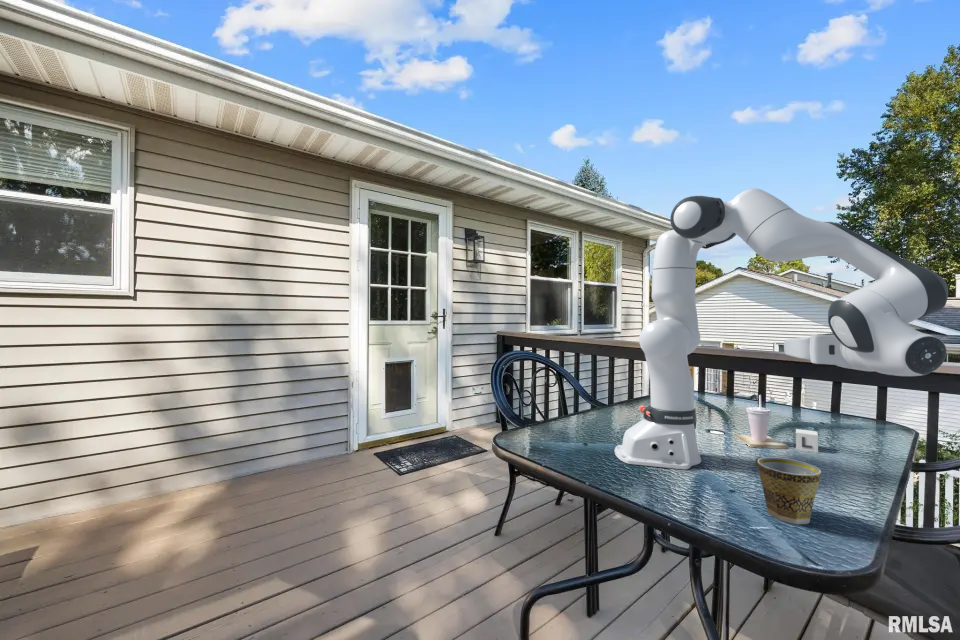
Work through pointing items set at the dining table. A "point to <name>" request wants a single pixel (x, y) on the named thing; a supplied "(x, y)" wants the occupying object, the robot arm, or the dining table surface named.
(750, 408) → the smoothie
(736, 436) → the maple pad
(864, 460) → the dining table surface
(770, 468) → the ceramic cup
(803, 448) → the letter cube
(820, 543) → the dining table surface
